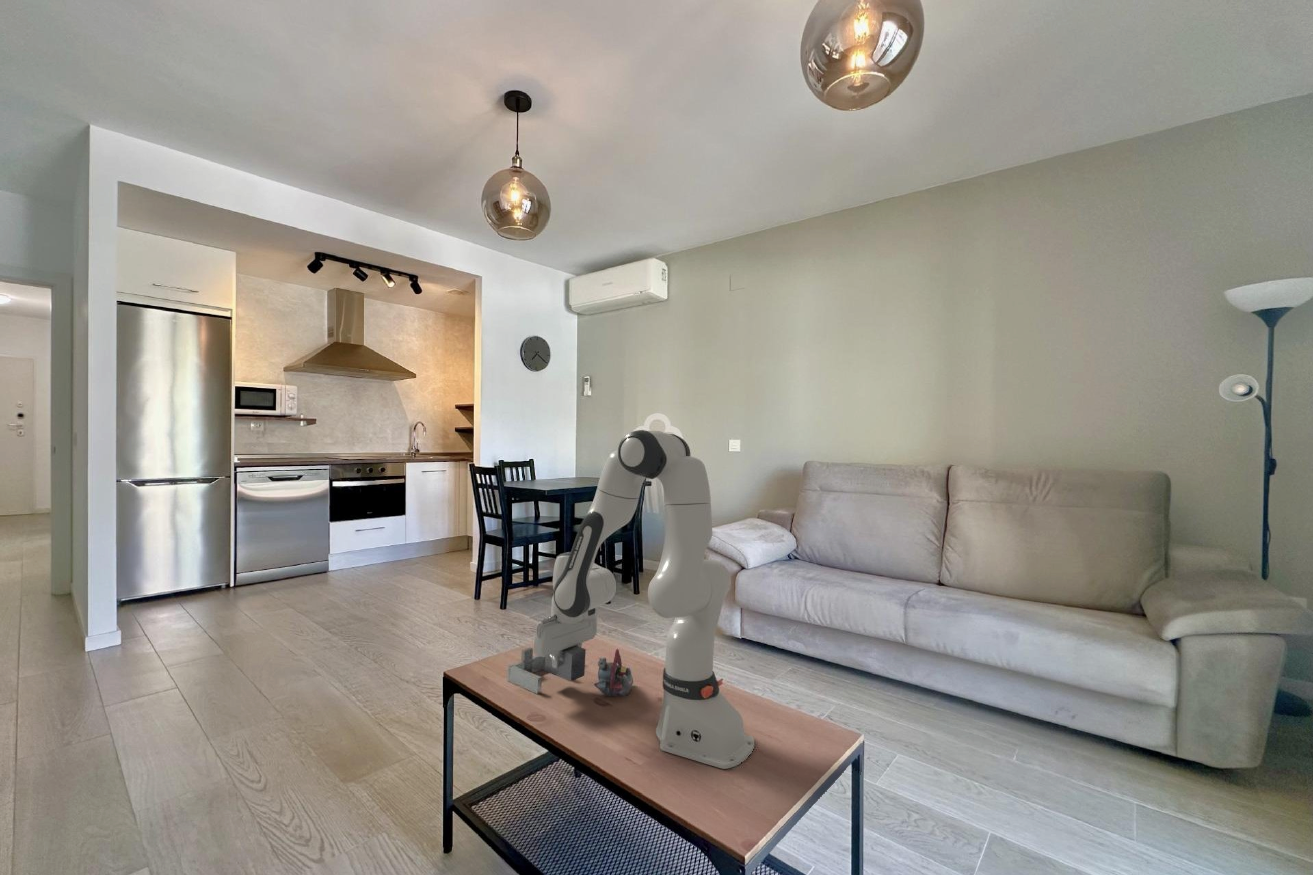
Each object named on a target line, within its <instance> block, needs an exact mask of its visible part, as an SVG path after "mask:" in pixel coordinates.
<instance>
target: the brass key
mask: <svg viewBox="0 0 1313 875" xmlns="http://www.w3.org/2000/svg"><path fill="white" fill-rule="evenodd" d="M626 668H627V667H626V666H623V665H622V667H621V672H626Z"/></svg>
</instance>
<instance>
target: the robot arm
mask: <svg viewBox="0 0 1313 875" xmlns="http://www.w3.org/2000/svg"><path fill="white" fill-rule="evenodd" d="M706 469H707V468H706V467H705V464H704V462H703V461H702V460H700V459H699V458H697V457H694V456H691V449H690V446H689V444H688V443H687V441H686V440H685V439H683V438H682V437H681V436H679V435H677V434H673V433H667V432H663V431H661V430H660V431H659V430H646V429H645V430H644V429H639V430H635V431H631V432H629V433H627V434H626V435H624V436H623V437H622V439H621V441H620V442H619V444H618V449H616V450H613V451H612V452H611V453H610V454H609V455H608V456H607V459H606V461H605V463H604V465H603V468H602V471H601V473H600V477H599V480H598V483H597V488H596V491H595V495H594V498H593V501H592V503H591V505H590V507H589V509H588V511H587V513H586V515H585V516H584V518H583V520H582V521H581V523H580V525H579V528H578V531H577V532H576V536H575V539H574V542H573V544H572V548H571V551H568V552H563V553H560V554H558V555H557V556H556V558H555V562H554V566H553V573H552V574H553V575H552V588H553V595H552V597H551V611H550V616H549V617H544V618H542V619H541V620H540V622H539V623H538V624H537V626H536V631H535V634H534V635H535V636H534V639H533V640H534V641H533V647H532V648H533V653H534V654H535V656H536V655H538V656H541V657H545V656H548V655H549V656H550V658H551V659H552V667H554V668H557V667H560V665H561V664H560V663H561V660H558V658H557V655H558V652H559V651H561V650H564V649H566V648H569V647H572V646H574V645H576V646H579V647H581V648H583V647H582V645H583V643H584V642H587V641H588V642H589V641H590V640H593V639H594V638H595V637H596V635H597V632H598V617H597V613H598V610H599V607H600V606H603V605H606V604H607V603H609V602H611V601H612V600H613V599H614V598H615V596H616V594H617V591H618V584H617V579H616V576H615V575H614V574H613V572H612V571H611V570H610V569H609V568H606V567H603V566H600V565H598V564H597V563H595V559H596V557H597V554H598V550H599V548H600V547H601V545H602V544H603V543H604V542H605V541H606V539H607V538H609V537H610V536H611V535H612V534H613V533H615V532H616V531H618V530H619V529H621V528H622V527H624V526H626V525H627V524H629V523H630V522H631V520H632V518H633V516H634V514H635V513H636V510H637V508H638V505H639V504H638V503H639V499H640V495H641V490H642V487H643V483H644V481H645V480H646V478H647V479H649V480H654V479H656V478H657V479H658V480H659V481H660V483H661V485H662V487H663V507H664V508H663V509H664V511H663V512H664V541H663V548H662V553H661V557H660V560H659V565H658V567H657V571H656V572H655V574H654V576H653V577H652V579H651V580H650V582H649V585H648V588H647V598H648V599H647V600H648V603H649V605H650V607H651V608H652V610H653V612H654V613H655V614H656V615H658V616H659V617H661V618H663V619H674V620H673V623H672V625H671V626H670V628H669V630H668V632H667V634H666V638H665V662H664V663H665V664H664V669H663V672H662V688H663V697H662V703H661V704H662V705H661V709H660V710H661V711H660V713H659V714H660V715H659V719H658V722H657V725H656V728H655V734H656V737H657V739H658V740H659V742H660V743H659V749H660V750H661V751H663V752H666V753H670V754H673V755H676V756H679V757H682V758H685V759H690V760H693V761H696V762H699V763H702V764H705V765H709V766H713V767H716V768H719V769H722V770H726V769H732V768H734V767H736V766H738V765H740V764H742V763H743V762H744V761H746V760H747V759H748V758H749V757H750V756H751V755H752V753H753V752H754V750H753V749H755V739H754V737H753V736H751V735H749V734H747V733H746V732H745V726H744V721H743V717H742V715H741V713H740V711H738V710H737V709H736V708H735V707H734V706H733V705H732V704H731V702H730V701H729V700H728V699H727V698H726V696H725V695H724V694H723V693H722V692H721V691H720V686H722V685H723V680H724V678H721V679H719V680H717V677H716V674H715V672H714V653H715V652H714V651H715V638H716V633H717V628H718V623H719V620H720V616H721V612H722V608H723V604H724V602H725V599H726V597H727V595H728V593H729V592H730V589H731V586H732V577H731V573H730V572H729V571H730V570H728V568H727V566H726V565H725V564H724V563H722V562H720V561H718V560H715V559H705V556H706V552H707V548H708V546H709V543H710V542H711V541H712V538H713V519H712V518H713V517H712V502H711V501H712V500H711V490H710V484H709V478H708V473H707V470H706ZM752 751H753V752H752ZM750 754H751V755H750ZM749 755H750V756H749ZM748 756H749V757H748ZM741 762H742V763H741Z"/></svg>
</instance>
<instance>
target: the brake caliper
mask: <svg viewBox="0 0 1313 875" xmlns="http://www.w3.org/2000/svg"><path fill="white" fill-rule="evenodd" d="M622 664H623V662H622V659H621V655H620V650H619V649H618V648H617V649H616V650H615V653H614V657H613V661H612V662H607V658H606V657H599V660H598V662H597V666H598V667H599V668H598V670H597V671H598V672H597V679H598V682H595V683H594V684H593V685H594V686H595V687H596V688H597V689H598V690H599V691H600V692H601V693H602V694H603V695H604V696H605V697H614V696H618V697H619V696H620V697H624V696H628V694H629V693H630V692H631V691H630V690H631V688H632V686H633V684H634V678H633V675H632V671H631V668H630V667H626V672H621V667H622V666H623V665H622Z"/></svg>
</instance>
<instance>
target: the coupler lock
mask: <svg viewBox="0 0 1313 875" xmlns="http://www.w3.org/2000/svg"><path fill="white" fill-rule="evenodd" d="M586 651H587V649H586V648H584V647H579V646H576V645H574V646H572V647H569V648H566V649H564V650H561V651H559V652H558V655H557V658H558V660H561V663H560V664H561V665H560V667H557V668H554V667H552V659H551V658H550V656H549V655H548V656H546V658H545V670H544V671H545V672H547V673H549V672H550V674H552V675H555V676H556V677H560V678H562V679H563V680H566V681H568V682H570V683H571V682H573V681H575V680H578V679H580V678H581V677H584V676H585V669H586Z"/></svg>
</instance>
